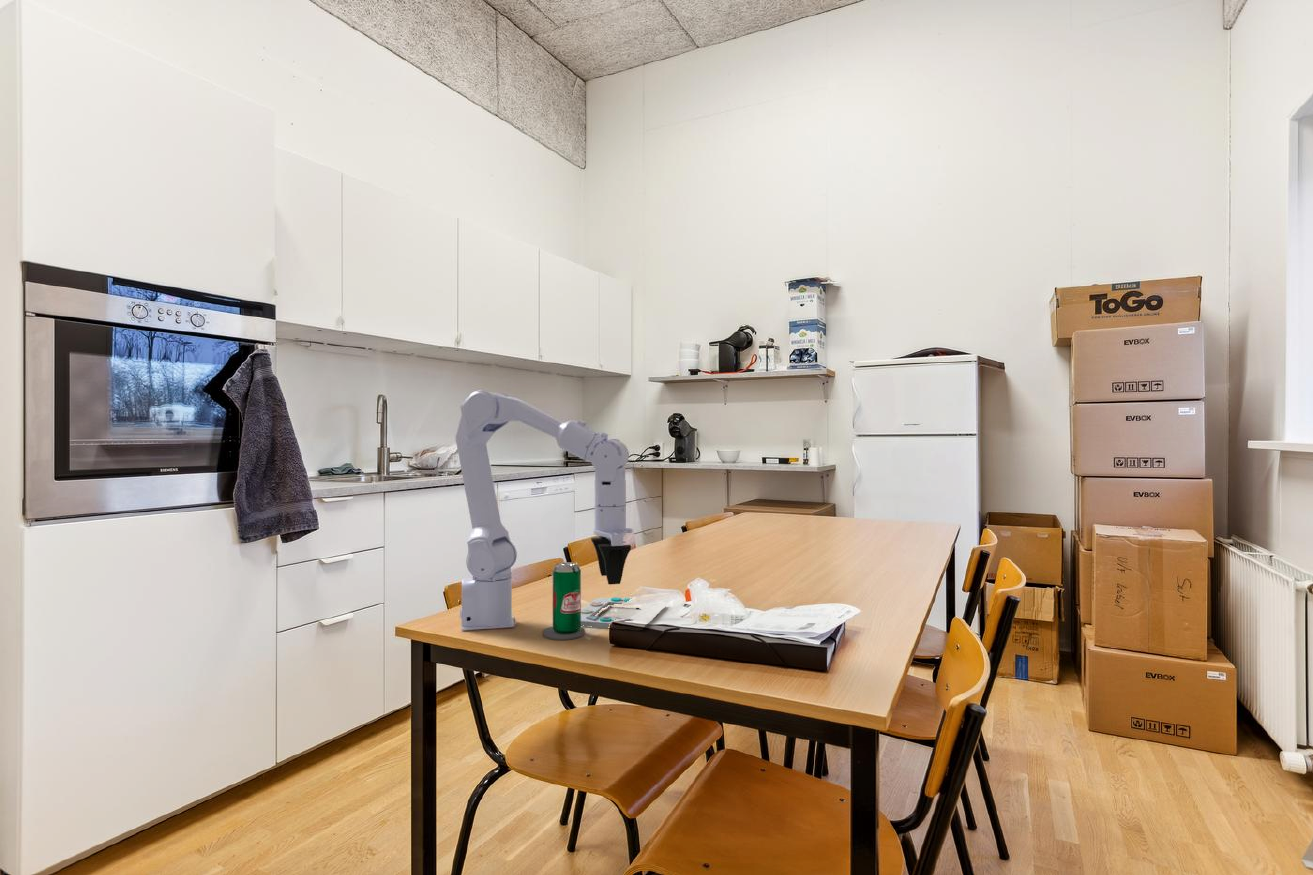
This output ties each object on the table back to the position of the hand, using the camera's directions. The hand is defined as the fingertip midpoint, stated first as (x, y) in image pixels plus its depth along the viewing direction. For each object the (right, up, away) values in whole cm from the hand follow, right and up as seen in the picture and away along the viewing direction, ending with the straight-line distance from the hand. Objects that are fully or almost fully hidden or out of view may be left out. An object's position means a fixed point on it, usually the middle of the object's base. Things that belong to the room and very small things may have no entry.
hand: (610, 579), depth 126 cm
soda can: (-8, -9, -2) cm, 12 cm away
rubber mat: (-8, -9, -2) cm, 13 cm away
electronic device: (+1, -10, +11) cm, 15 cm away
